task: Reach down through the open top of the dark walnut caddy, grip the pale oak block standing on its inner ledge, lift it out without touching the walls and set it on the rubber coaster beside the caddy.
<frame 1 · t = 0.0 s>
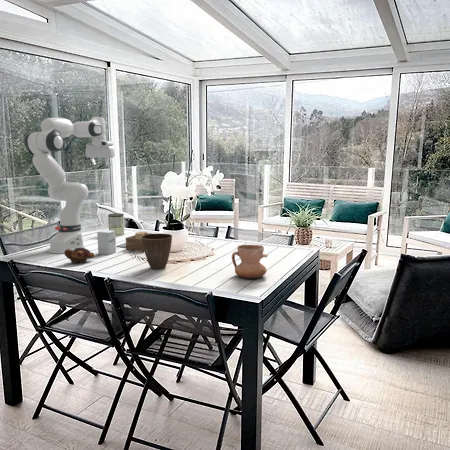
hand: (100, 164, 289), 48 cm above the table, fingers open, 8 cm apart
walnut caddy: (144, 247, 269), on the table
ceramic jug: (249, 276, 209), on the table
oak block: (141, 242, 270), point 3 cm above the table, touching walnut caddy
plant pot: (157, 268, 224), on the table
rubber coaster: (126, 245, 274), on the table
supplement box: (107, 253, 256), on the table
decorative turtle: (79, 262, 235), on the table
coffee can: (116, 234, 310), on the table
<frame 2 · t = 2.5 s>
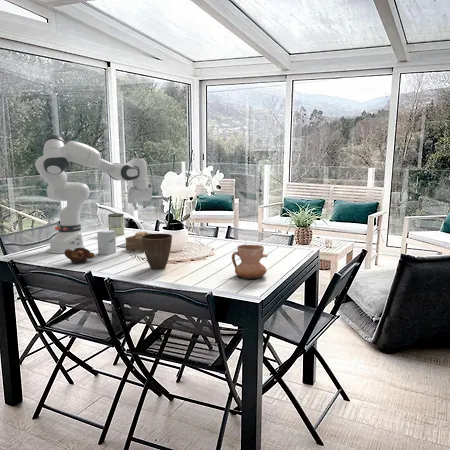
hand: (140, 209, 266), 23 cm above the table, fingers open, 8 cm apart
nothing on the table moved.
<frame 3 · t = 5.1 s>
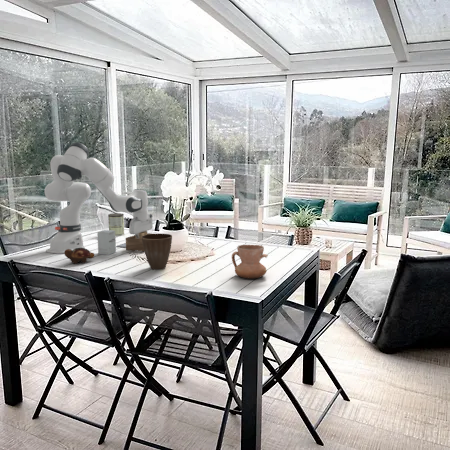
hand: (141, 239, 269), 5 cm above the table, fingers closed on oak block, 5 cm apart
oak block: (141, 242, 270), point 3 cm above the table, touching gripper, walnut caddy
everything else where it was.
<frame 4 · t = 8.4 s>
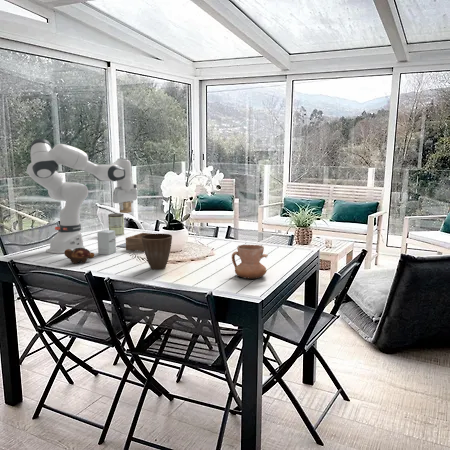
hand: (125, 209, 270), 22 cm above the table, fingers closed on oak block, 5 cm apart
oak block: (125, 212, 271), point 21 cm above the table, touching gripper
everything else where it was.
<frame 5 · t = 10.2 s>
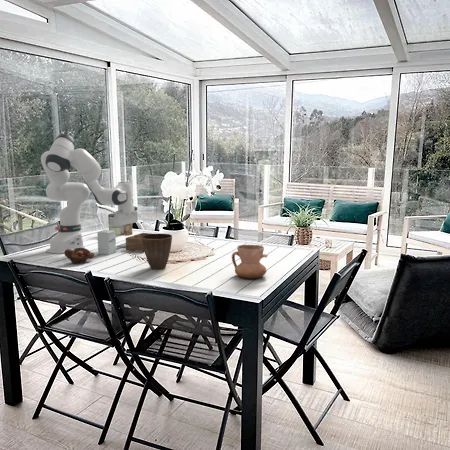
hand: (126, 231, 272), 9 cm above the table, fingers closed on oak block, 5 cm apart
oak block: (126, 234, 273), point 7 cm above the table, touching gripper
everything else where it was.
when the fingers open (5 cm above the table, at t = 11.9 s): oak block drops 2 cm, resting on rubber coaster.
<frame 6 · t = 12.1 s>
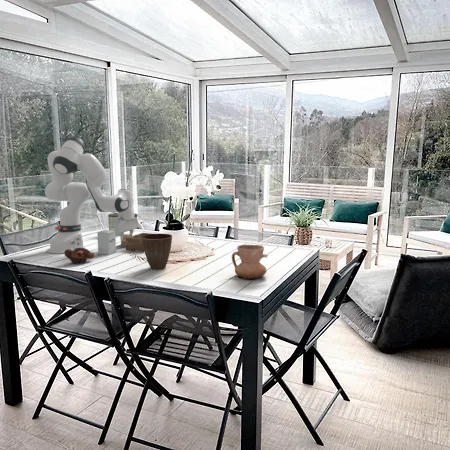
hand: (126, 238, 273), 5 cm above the table, fingers open, 7 cm apart
oak block: (126, 244, 274), point 1 cm above the table, touching rubber coaster
everything else where it was.
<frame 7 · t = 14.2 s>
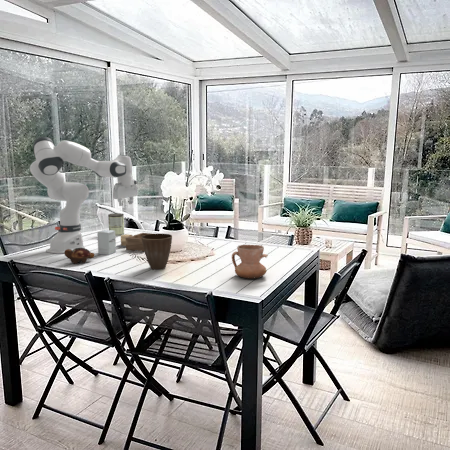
hand: (125, 205, 274), 24 cm above the table, fingers open, 8 cm apart
nothing on the table moved.
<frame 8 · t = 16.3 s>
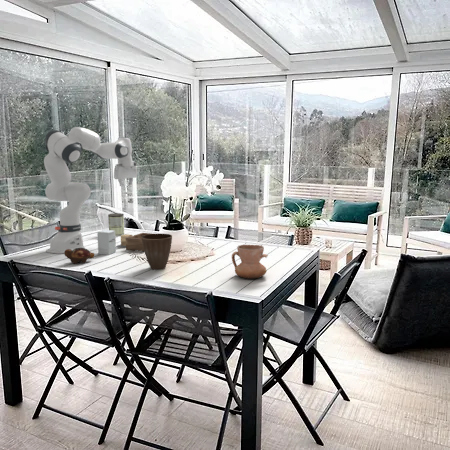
hand: (126, 185, 286), 35 cm above the table, fingers open, 8 cm apart
nothing on the table moved.
at the end: oak block inside the target area on the rubber coaster (0.0 cm from its centre), point 0.6 cm above the rubber coaster's base; oak block tilted 0°; oak block touching rubber coaster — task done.
